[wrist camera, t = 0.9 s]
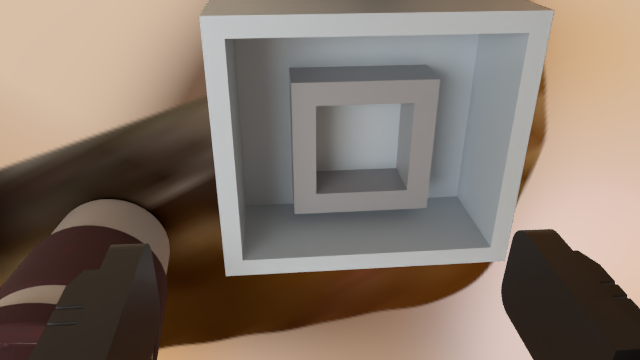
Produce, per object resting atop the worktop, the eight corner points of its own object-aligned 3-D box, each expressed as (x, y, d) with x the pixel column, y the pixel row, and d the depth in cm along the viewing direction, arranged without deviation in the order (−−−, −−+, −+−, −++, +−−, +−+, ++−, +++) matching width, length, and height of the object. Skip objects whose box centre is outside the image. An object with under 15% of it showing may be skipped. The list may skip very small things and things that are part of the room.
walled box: (213, -7, 29) (199, 15, 23) (495, -11, 30) (554, 10, 24) (232, 211, 35) (225, 276, 29) (464, 201, 37) (504, 260, 30)
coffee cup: (199, 294, 38) (164, 499, 25) (59, 305, 38) (-54, 521, 24) (179, 172, 34) (122, 344, 20) (19, 182, 33) (-147, 366, 20)
